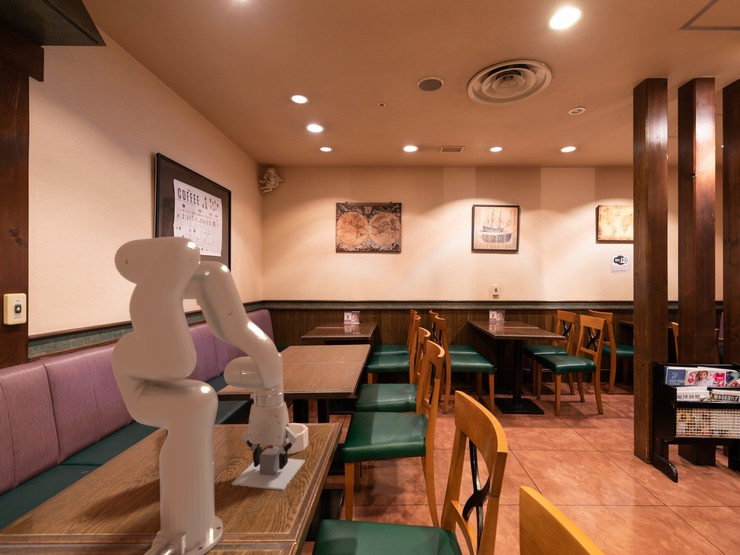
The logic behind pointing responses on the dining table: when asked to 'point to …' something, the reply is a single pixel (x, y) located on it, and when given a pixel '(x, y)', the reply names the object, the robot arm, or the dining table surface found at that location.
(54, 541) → the dining table surface
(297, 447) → the bowl
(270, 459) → the lid
